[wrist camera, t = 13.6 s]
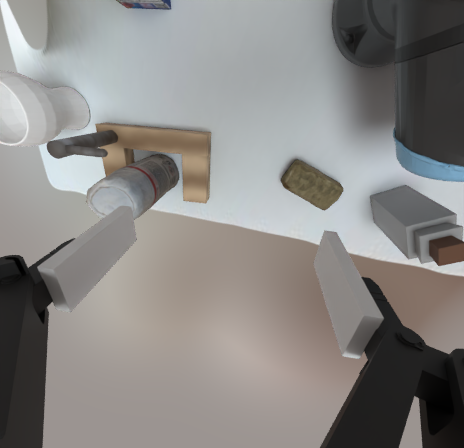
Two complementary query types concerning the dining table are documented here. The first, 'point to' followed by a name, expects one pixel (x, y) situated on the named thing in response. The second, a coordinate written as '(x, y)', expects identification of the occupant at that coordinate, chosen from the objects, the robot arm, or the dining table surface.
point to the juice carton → (146, 4)
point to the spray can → (134, 186)
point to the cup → (37, 110)
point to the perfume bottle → (418, 226)
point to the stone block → (311, 185)
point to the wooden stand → (145, 138)
